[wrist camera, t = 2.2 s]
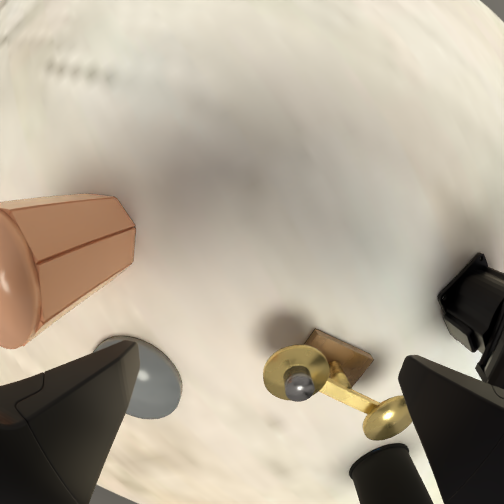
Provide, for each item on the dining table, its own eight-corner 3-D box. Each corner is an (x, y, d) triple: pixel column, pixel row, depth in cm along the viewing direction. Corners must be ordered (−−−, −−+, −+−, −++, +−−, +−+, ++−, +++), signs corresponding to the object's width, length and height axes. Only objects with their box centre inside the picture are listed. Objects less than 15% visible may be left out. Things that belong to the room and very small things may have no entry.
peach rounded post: (68, 191, 20) (-47, 203, 8) (139, 200, 20) (27, 216, 8) (64, 270, 21) (-35, 324, 9) (131, 287, 21) (42, 368, 10)
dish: (129, 317, 22) (124, 322, 21) (202, 390, 23) (201, 396, 22) (78, 363, 23) (74, 368, 22) (142, 423, 25) (140, 429, 24)
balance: (396, 363, 23) (427, 405, 16) (368, 397, 24) (390, 443, 17) (279, 308, 22) (289, 353, 15) (251, 351, 22) (251, 404, 16)
